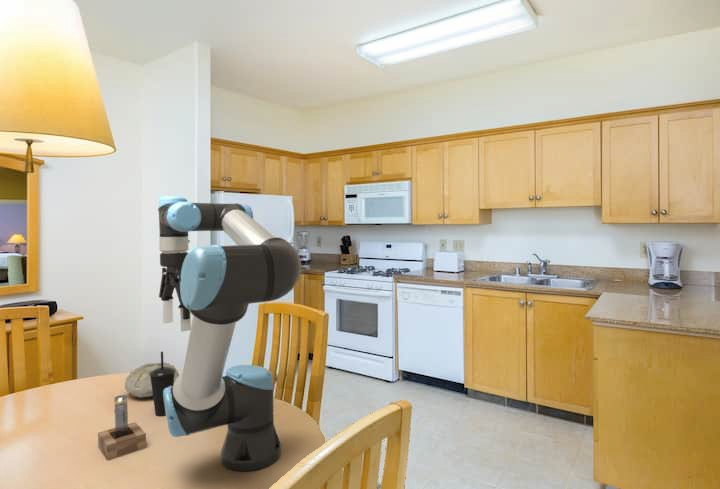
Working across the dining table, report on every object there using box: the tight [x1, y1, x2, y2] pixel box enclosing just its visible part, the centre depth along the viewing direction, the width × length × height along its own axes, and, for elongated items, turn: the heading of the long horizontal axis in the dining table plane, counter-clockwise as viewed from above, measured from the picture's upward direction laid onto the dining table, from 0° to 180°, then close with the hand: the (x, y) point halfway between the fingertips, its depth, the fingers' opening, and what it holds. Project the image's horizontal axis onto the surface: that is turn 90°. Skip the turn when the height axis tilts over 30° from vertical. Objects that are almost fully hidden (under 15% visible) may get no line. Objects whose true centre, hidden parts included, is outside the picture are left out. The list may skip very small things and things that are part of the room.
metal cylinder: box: [114, 394, 129, 439], centre depth 119 cm, size 3×3×14 cm
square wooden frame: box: [97, 421, 147, 461], centre depth 119 cm, size 9×9×4 cm
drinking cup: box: [149, 351, 175, 417], centre depth 140 cm, size 8×8×20 cm
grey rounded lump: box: [124, 362, 180, 398], centre depth 157 cm, size 18×18×10 cm
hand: (176, 326), depth 124 cm, fingers open, 13 cm apart
